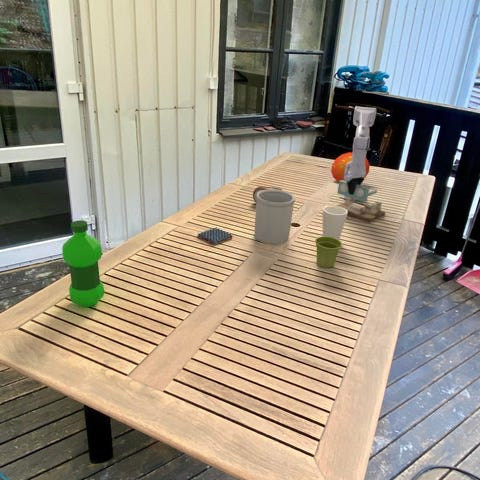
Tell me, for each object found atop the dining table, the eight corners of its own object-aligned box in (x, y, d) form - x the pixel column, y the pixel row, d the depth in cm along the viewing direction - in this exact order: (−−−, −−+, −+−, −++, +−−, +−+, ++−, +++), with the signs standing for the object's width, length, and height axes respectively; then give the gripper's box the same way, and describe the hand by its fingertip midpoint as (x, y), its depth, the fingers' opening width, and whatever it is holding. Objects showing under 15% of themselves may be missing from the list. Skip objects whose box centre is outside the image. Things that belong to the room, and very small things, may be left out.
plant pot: (340, 260, 160) (343, 239, 156) (336, 272, 152) (340, 250, 148) (314, 255, 163) (317, 234, 159) (309, 267, 155) (312, 245, 151)
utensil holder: (298, 237, 176) (303, 196, 168) (274, 249, 166) (278, 205, 158) (269, 226, 185) (273, 186, 177) (245, 236, 175) (248, 194, 167)
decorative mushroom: (334, 174, 257) (337, 149, 251) (369, 181, 249) (374, 155, 242) (325, 181, 245) (329, 154, 239) (363, 188, 237) (368, 161, 230)
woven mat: (195, 238, 172) (195, 233, 171) (215, 230, 179) (215, 226, 178) (213, 247, 166) (213, 242, 165) (233, 239, 173) (233, 234, 172)
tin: (284, 204, 209) (285, 187, 205) (284, 207, 206) (285, 190, 202) (252, 202, 210) (253, 185, 206) (251, 204, 207) (253, 187, 203)
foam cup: (345, 238, 178) (350, 208, 172) (339, 247, 170) (344, 216, 164) (322, 233, 181) (326, 204, 175) (315, 242, 173) (320, 211, 168)
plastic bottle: (86, 316, 122) (77, 235, 112) (61, 303, 127) (50, 224, 116) (113, 300, 130) (107, 222, 119) (89, 288, 135) (80, 213, 124)
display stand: (349, 203, 215) (351, 191, 212) (384, 215, 203) (387, 202, 201) (332, 209, 206) (334, 197, 203) (369, 222, 194) (371, 210, 192)
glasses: (349, 188, 211) (351, 176, 208) (375, 196, 202) (378, 184, 200) (337, 193, 204) (339, 181, 201) (364, 201, 195) (366, 189, 193)
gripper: (358, 159, 201) (353, 187, 207) (340, 164, 191) (336, 194, 197) (372, 163, 197) (366, 191, 203) (355, 168, 187) (349, 198, 193)
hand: (352, 193), depth 200 cm, fingers closed on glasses, 2 cm apart
